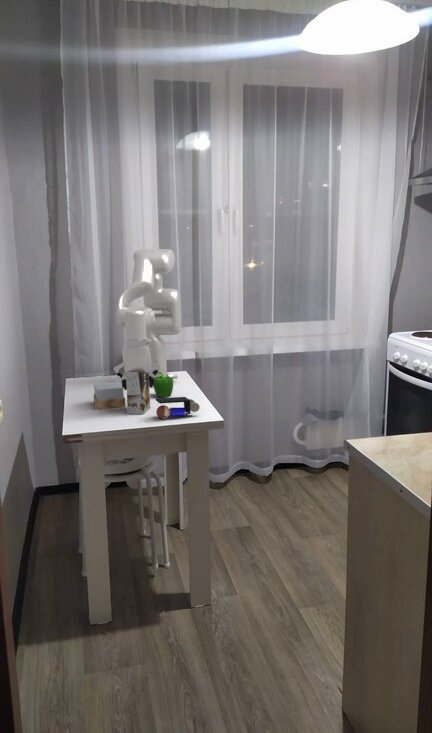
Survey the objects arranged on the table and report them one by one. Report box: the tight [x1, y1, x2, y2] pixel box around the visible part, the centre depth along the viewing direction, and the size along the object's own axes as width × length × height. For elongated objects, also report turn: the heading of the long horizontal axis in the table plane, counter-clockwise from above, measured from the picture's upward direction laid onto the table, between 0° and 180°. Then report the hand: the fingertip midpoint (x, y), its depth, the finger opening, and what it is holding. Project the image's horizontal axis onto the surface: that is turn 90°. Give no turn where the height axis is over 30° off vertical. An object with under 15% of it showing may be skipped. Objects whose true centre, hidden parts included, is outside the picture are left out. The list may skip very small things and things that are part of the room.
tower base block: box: [93, 393, 126, 411], centre depth 227 cm, size 11×11×4 cm
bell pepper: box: [152, 372, 174, 398], centre depth 239 cm, size 8×8×10 cm
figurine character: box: [155, 396, 201, 420], centre depth 210 cm, size 7×8×15 cm
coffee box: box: [126, 370, 151, 415], centre depth 217 cm, size 9×6×16 cm
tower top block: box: [93, 381, 125, 400], centre depth 227 cm, size 10×10×4 cm
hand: (138, 388), depth 217 cm, fingers open, 9 cm apart
